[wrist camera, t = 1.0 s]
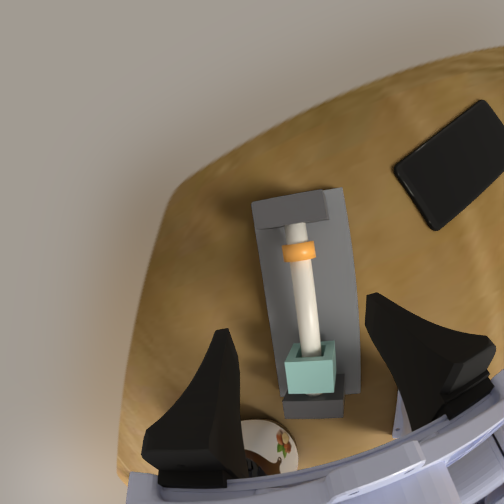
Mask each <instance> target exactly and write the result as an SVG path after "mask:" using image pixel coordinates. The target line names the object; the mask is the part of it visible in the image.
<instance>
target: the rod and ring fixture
mask: <svg viewBox="0 0 504 504" xmlns="http://www.w3.org/2000/svg"><path fill="white" fill-rule="evenodd" d="M251 208H252V214H253V220H254V226H255V233H256V239H257V245H258V252H259V258H260V264H261V271H262V277H263V284H264V290H265V297H266V303H267V310H268V316H269V323H270V329H271V336H272V343H273V349H274V356H275V363H276V369H277V376H278V383H279V389H280V396H281V397H284V399H283V401H282V402H283V409H284V416H285V419H324V418H343V415H344V402H345V395H346V394H357V393H360V388H361V364H360V331H359V314H358V300H357V288H356V278H355V268H354V260H353V252H352V244H351V237H350V230H349V224H348V217H347V211H346V206H345V200H344V194H343V189H342V187H341V188H335V189H329V190H322V189H319V190H314V191H308V192H302V193H296V194H291V195H286V196H280V197H275V198H270V199H265V200H260V201H255V202H252V204H251ZM334 340H335V353H336V379H335V388H334V392H333V393H312V394H289V392H288V385H287V377H286V370H285V360H286V358H287V356H288V354H289V352H290V350H291V348H292V345H293V343H300V345H301V354H302V358H303V357H320V356H322V353H321V342H322V341H334Z"/></svg>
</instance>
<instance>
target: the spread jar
mask: <svg viewBox="0 0 504 504" xmlns="http://www.w3.org/2000/svg"><path fill="white" fill-rule="evenodd" d="M241 427H242V435H243V442H244V449H245V455H246V461H247V467H248V472H249V477H250V478H253V477H261V476H269V475H275V474H281V473H287V472H292V471H297V468H298V451H297V446H296V442H295V439H294V437H293V435H292V434H291V433H290V431H289V430H288V429H286V428H285V427H284V426H283V425H281V424H279V423H277V422H275V421H272V420H268V419H259V418H256V419H246V420H241Z"/></svg>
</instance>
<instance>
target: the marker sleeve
mask: <svg viewBox="0 0 504 504" xmlns="http://www.w3.org/2000/svg"><path fill="white" fill-rule="evenodd" d="M321 353H322V356H320V357H303V358H302V354H301V345H300V343H293V345H292V348H291V350H290V352H289V354H288V356H287V358H286V360H285V370H286V377H287V385H288V392H289V394H312V393H333V392H334V388H335V379H336V353H335V340H334V341H322V342H321Z"/></svg>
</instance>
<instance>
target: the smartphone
mask: <svg viewBox="0 0 504 504" xmlns="http://www.w3.org/2000/svg"><path fill="white" fill-rule="evenodd" d="M503 172H504V125H503V124H502V122H501V121H500V119H499V118H498V117H497V115H496V114H495V112H494V111H493V110H492V108H491V107H490V106H489V104H488V103H487V102H486V101H485V100H480V101H478V102H477V103H476V104H474V105H473V106H472V107H470V108H469V109H468V110H467V111H465V112H464V113H463V114H461V115H460V116H459V117H458V118H456V119H455V120H454V121H452V122H451V123H450V124H449V125H447V126H446V127H445V128H443V129H442V130H441V131H439V132H438V133H437V134H436V135H434V136H433V137H432V138H430V139H429V140H428V141H426V142H425V143H424V144H422V145H421V146H420V147H418V148H417V149H416V150H414V151H413V152H412V153H411V154H409V155H408V156H407V157H405V158H404V159H403V160H401V161H400V162H399V163H397V164H396V165H395V167H394V174H395V175H396V177H397V178H398V180H399V181H400V182H401V184H402V185H403V187H404V188H405V187H406V188H405V190H406V191H407V193H408V194H409V195H410V197H411V198H412V200H413V202H414V203H415V205H416V206H417V208H418V209H419V211H420V212H421V214H422V216H423V217H424V219H425V220H426V222H427V224H428V225H429V227H430V228H431V229H432V230H434V231H438V230H440V229H441V228H442V227H444V226H445V225H446V224H447V223H448V222H450V221H451V220H452V219H453V218H454V217H455V216H457V215H458V214H459V213H460V212H461V211H462V210H464V209H465V208H466V207H467V206H468V205H469V204H470V203H471V202H472V201H474V200H475V199H476V198H477V197H478V196H479V195H480V194H481V193H482V192H483V191H484V190H485V189H486V188H488V187H489V186H490V185H491V184H492V183H493V182H494V181H495V180H496V179H497V178H498V177H499V176H500V175H501V174H502V173H503Z"/></svg>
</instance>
